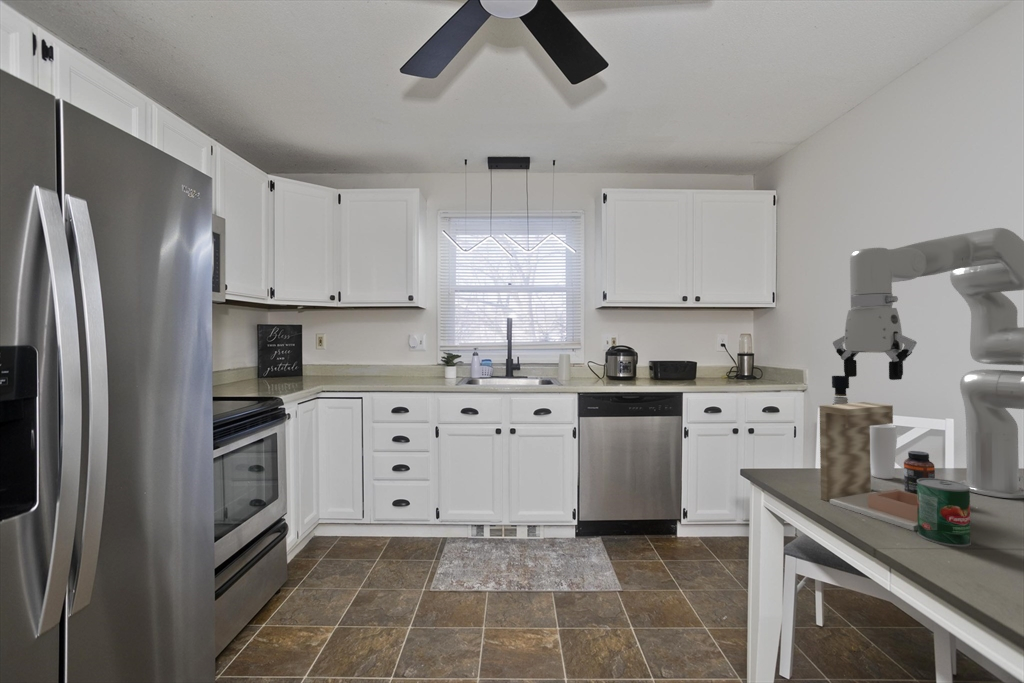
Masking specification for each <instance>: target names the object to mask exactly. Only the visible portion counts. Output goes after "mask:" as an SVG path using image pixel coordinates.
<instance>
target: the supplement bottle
mask: <svg viewBox="0 0 1024 683" xmlns="http://www.w3.org/2000/svg"><path fill="white" fill-rule="evenodd" d="M907 454H908V456H907V457H908V458H906V459H904V461H903V476H904V477H903V481H904V483H903V484H904V490H903V491H906V492H909V493H913V494H917V479H921V478H935V479H936V476H935V474H936V472H935V471H936V470H935V469H936V468H935V467H936V466H935V464H934V463H933V462H932V461H930V454H929V453H928V452H926V451H921V450H909V451H907Z"/></svg>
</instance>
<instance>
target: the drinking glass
mask: <svg viewBox="0 0 1024 683" xmlns="http://www.w3.org/2000/svg"><path fill="white" fill-rule="evenodd" d="M897 443H898V433H897V426H896V425H893V424H883V425H874V426H870V471H871V477H874V478H876V479H882V480H892V479H894V478H895V466H896V465H895V464H896V455H897V454H896V453H897Z"/></svg>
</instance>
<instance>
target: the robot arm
mask: <svg viewBox="0 0 1024 683" xmlns="http://www.w3.org/2000/svg"><path fill="white" fill-rule="evenodd" d="M947 272H950V275H949V278H950V283H951V285H952V287H953V288H954V289H955V291H956V292H958V293H959V295H960V296H961V297H962V298H963V299H964V301H965V302H966V303H967V306H968V307H969V310H970V316H971V317H970V338H969V339H970V340H969V351H970V356H971V358H972V359H973V360H974V361H975V362H977V363H980V364H986V365H999V366H1000V365H1003V366H1024V327H1022V326H1021V327H1019V326H1018V308H1017V305H1016V304H1015V303H1014V302H1013V301H1012V300H1011V299H1010V298H1009V297H1008V296H1007V295H1005V294H1004V292H1013V291H1024V240H1023V238H1021V236H1019V235H1018V234H1017V233H1015V232H1014V231H1012V230H1010V229H1008V228H1005V227H994V228H989V229H983V230H978V231H972V232H967V233H961V234H955V235H950V236H943V237H941V238H939V237H938V238H935V239H930V240H925V241H921V242H917V243H916V242H914V243H911V244H908V245H904V246H900V247H895V248H889V249H888V248H885V247H868V248H862V249H858V250H855V251H854V252H852V253H851V254H850V257H849V275H850V276H849V277H850V278H849V281H850V282H849V284H850V310H847V315H846V319H845V320H846V321H845V328H844V335H843V336H841V337H839V338H837V339H835V340H833V341H832V346H833V347H834V349H835V352H836V353H837V355H838V356H840V359H841V360H842V361H843V372H844V376H845V377H849V378H854V377H857V373H858V372H857V360H856V359H855V358H856V356H857V355H858V354H859V353H874V354H875V353H877V354H880V353H884V354H885V355H887V356H888V358H889V359H890V360H891V361H889V362H888V379H889V380H890V381H899V380H902V379H903V376H904V362H905V361H906V360H907V358H908V357H909V356H910V355H912V353H913V350H914V349H915V347H916V346H917V341H916V340H915V339H912V338H911V337H910V338H909V337H907V336H905V335H903V332H902V323H901V319H900V315H899V312H898V309H897V307H893V305H894V304H893V303H897V302H898V301H899V297H898V296H897V295H893V291H892V290H893V289H892V288H893V286H892V283H898V282H906V281H911V280H914V279H917V278H921V277H929V276H936V275H940V274H943V273H947ZM843 345H844V346H845V347H844V346H843ZM903 345H904V346H903ZM959 389H960V393H961V397H962V400H963V401H962V402H963V405H964V406H963V407H964V413H965V446H966V448H965V449H966V450H965V451H966V454H965V455H966V456H965V457H966V479H963V480H960V481H959V483H962V484H965V485H967V486H969V487H970V493H975V494H979V495H982V496H983V495H984V496H989V497H995V498H1005V499H1024V488H1022V487H1020V482H1023V481H1024V476H1023V475H1022V474H1021V473H1020V472H1019V471H1020V470H1019V469H1020V468H1019V467H1020V466H1019V426H1018V423H1017V421H1016V419H1015V418H1014V417H1013V415H1012V414H1011V413H1010V412H1009V411H1008V409H1016V410H1024V370H1009V369H975V370H971V371H969V372H966V373H964V375H962V377H961V379H960V382H959Z"/></svg>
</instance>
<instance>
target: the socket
mask: <svg viewBox="0 0 1024 683" xmlns="http://www.w3.org/2000/svg"><path fill="white" fill-rule="evenodd" d="M829 504H830V505H832V506H833V505H834V506H836V507H839V508H843V509H846V510H849V511H852V512H855V513H857V512H858V513H857V514H860V513H861V515H864V516H867V517H869V518H872V519H873V518H874V519H876V520H880V521H883V522H885V523H889V524H892V525H894V526H898V527H901V528H904V529H907V530H911V531H912V532H914V531H918V517H917V516H918V513H917V512H918V509H917V508H918V506H917V494H913V493H909V492H906V491H905V490H901V489H898V488H896V489H894V488H893V489H890V490H885V491H884V490H882V491H878V492H877V491H871V492H869V493H863V494H858V495H852V496H846V497H841V498H835V499H830V501H829Z"/></svg>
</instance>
